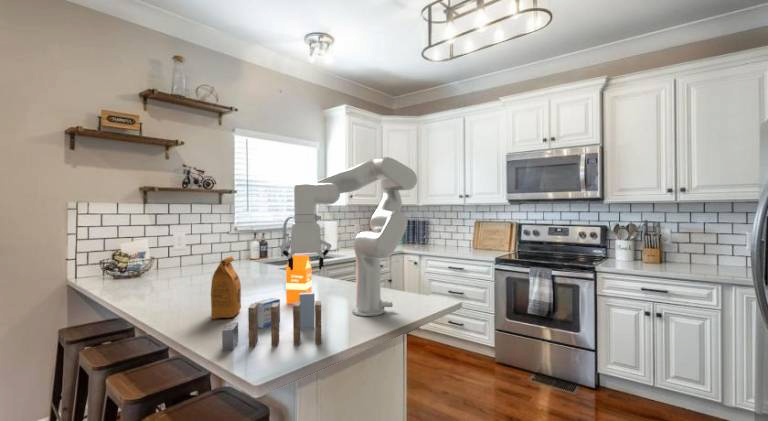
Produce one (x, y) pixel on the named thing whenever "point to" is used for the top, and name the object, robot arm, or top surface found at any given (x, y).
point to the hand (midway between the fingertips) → (306, 269)
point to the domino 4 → (307, 310)
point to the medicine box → (266, 312)
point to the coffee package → (225, 291)
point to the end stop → (230, 336)
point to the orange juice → (298, 278)
